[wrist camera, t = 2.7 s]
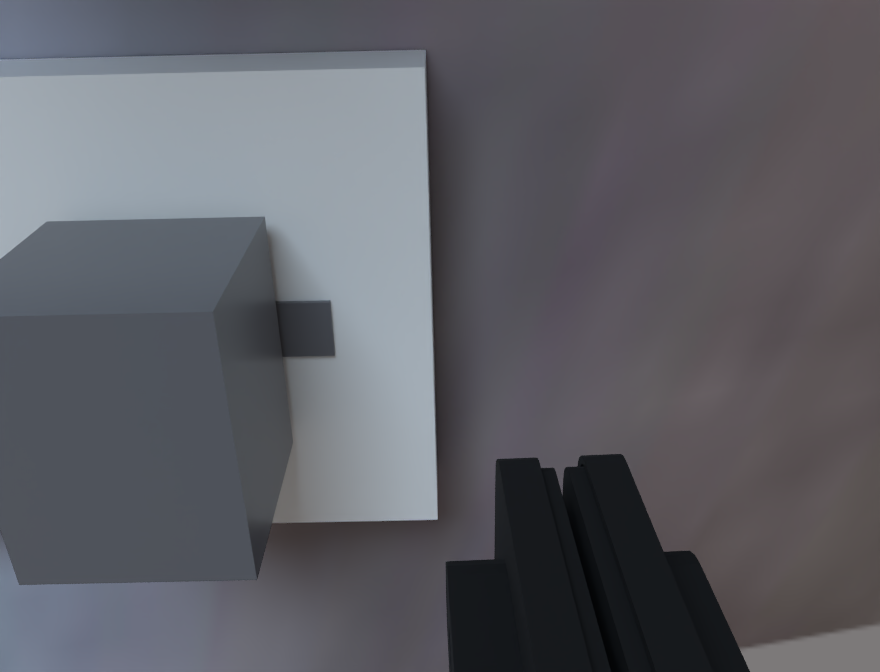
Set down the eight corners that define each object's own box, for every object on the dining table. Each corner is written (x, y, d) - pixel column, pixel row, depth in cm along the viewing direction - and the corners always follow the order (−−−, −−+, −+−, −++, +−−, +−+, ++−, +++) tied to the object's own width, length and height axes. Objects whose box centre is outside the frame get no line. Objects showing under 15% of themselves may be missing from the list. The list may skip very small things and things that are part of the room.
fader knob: (265, 216, 15) (212, 311, 11) (293, 442, 17) (256, 580, 14) (46, 221, 15) (-73, 318, 11) (104, 446, 17) (19, 584, 14)
